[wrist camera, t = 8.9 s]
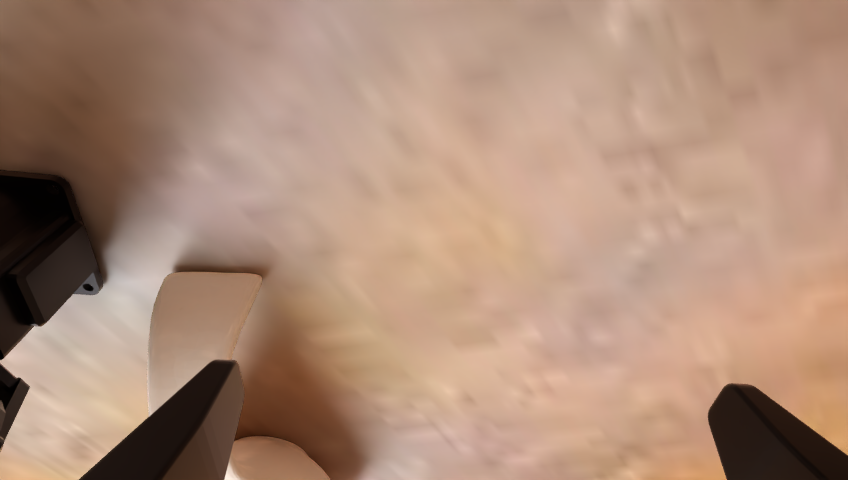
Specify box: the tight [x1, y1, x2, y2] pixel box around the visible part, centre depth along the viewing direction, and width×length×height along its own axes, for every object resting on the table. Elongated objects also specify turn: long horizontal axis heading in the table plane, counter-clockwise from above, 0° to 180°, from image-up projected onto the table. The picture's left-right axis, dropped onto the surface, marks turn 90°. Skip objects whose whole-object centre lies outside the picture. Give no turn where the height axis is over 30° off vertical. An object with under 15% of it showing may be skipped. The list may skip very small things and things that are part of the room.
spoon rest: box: [147, 272, 331, 480], centre depth 27 cm, size 24×12×7 cm, turn 179°
